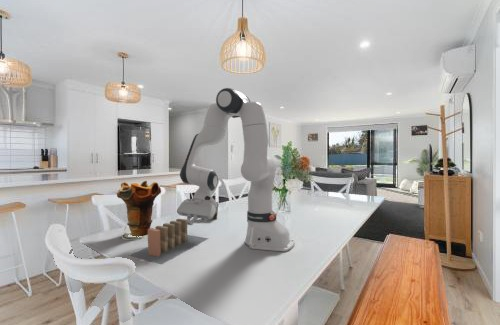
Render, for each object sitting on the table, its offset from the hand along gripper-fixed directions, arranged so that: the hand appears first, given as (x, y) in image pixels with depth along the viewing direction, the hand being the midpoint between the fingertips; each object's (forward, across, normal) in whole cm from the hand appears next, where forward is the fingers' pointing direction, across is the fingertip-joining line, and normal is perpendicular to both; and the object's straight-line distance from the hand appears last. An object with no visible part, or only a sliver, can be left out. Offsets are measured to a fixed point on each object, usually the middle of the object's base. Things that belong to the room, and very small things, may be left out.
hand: (188, 224), depth 115 cm
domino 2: (+16, 0, -8) cm, 18 cm away
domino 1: (+19, 0, -10) cm, 22 cm away
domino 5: (+8, 0, +1) cm, 8 cm away
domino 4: (+11, 0, -2) cm, 11 cm away
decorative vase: (+8, -28, +2) cm, 29 cm away
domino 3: (+14, 0, -5) cm, 14 cm away
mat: (+13, 0, -3) cm, 14 cm away
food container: (-20, -13, +31) cm, 39 cm away
